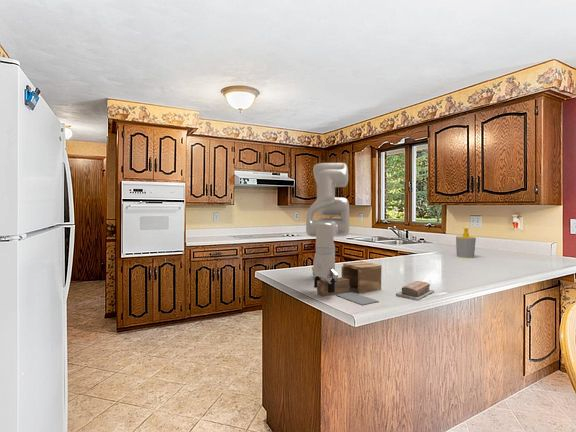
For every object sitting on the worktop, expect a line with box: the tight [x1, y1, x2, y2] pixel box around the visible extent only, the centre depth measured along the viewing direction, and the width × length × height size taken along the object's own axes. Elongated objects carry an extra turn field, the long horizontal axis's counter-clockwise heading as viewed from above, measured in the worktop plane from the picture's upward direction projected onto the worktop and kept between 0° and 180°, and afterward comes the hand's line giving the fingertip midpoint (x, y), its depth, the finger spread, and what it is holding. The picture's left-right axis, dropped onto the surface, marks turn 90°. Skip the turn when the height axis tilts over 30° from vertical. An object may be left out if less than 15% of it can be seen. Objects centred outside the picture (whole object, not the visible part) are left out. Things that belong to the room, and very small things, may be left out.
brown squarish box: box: [341, 260, 383, 294], centre depth 161 cm, size 12×13×11 cm
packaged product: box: [395, 280, 435, 301], centre depth 152 cm, size 18×5×10 cm
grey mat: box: [335, 291, 380, 306], centre depth 144 cm, size 16×9×1 cm, turn 31°
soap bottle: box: [455, 227, 477, 259], centre depth 256 cm, size 13×13×21 cm
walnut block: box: [316, 276, 350, 297], centre depth 153 cm, size 5×14×6 cm, turn 121°
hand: (324, 289), depth 151 cm, fingers open, 9 cm apart
